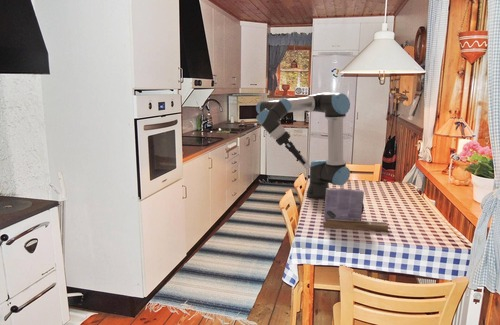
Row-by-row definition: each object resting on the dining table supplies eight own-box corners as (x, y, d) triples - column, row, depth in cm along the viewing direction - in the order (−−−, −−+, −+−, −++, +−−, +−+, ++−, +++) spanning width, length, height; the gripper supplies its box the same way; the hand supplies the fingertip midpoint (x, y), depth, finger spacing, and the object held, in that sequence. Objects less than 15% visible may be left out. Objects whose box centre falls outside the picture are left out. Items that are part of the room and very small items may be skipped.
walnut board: (323, 224, 187) (323, 218, 186) (385, 228, 182) (386, 222, 181) (323, 227, 182) (323, 221, 181) (387, 231, 177) (388, 225, 176)
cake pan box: (362, 222, 189) (364, 189, 186) (363, 226, 184) (365, 191, 181) (323, 220, 192) (325, 187, 189) (324, 224, 187) (325, 189, 184)
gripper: (274, 137, 203) (300, 166, 205) (275, 142, 179) (304, 175, 181) (284, 128, 202) (310, 157, 204) (287, 132, 178) (316, 165, 179)
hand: (307, 166), depth 192 cm, fingers open, 13 cm apart
